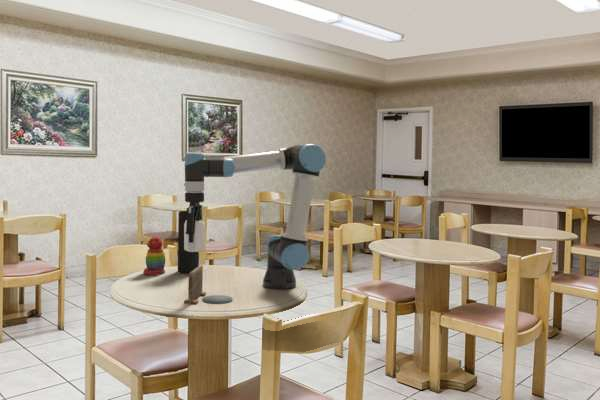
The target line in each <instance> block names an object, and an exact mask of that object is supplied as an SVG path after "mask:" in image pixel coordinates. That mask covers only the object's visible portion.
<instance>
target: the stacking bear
mask: <svg viewBox="0 0 600 400" xmlns="http://www.w3.org/2000/svg"><path fill="white" fill-rule="evenodd" d="M146 247H148V249H147V252H146V257H145V265H146V268H144V269H143V272H144V273H143V275H144V276H159V275H164V274H165V272H166V270H165V266H166V254H165V251H164V249H163V248H162V247H163V240H162V238H160V237H157V236H154V237H151V238H150V239H149V240H148V241H147V243H146Z"/></svg>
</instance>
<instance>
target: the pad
mask: <svg viewBox="0 0 600 400" xmlns="http://www.w3.org/2000/svg"><path fill="white" fill-rule="evenodd" d="M201 300H202V302H203V303H206V304H211V305H215V304H216V305H221V304H222V305H223V304H227V303H231V302H233V297H232V296H230V295H229V296H228V295H223V294H222V295H221V294H216V295H215V294H213V295H207V296H206V295H205V296H203V298H202V299H201Z"/></svg>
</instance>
